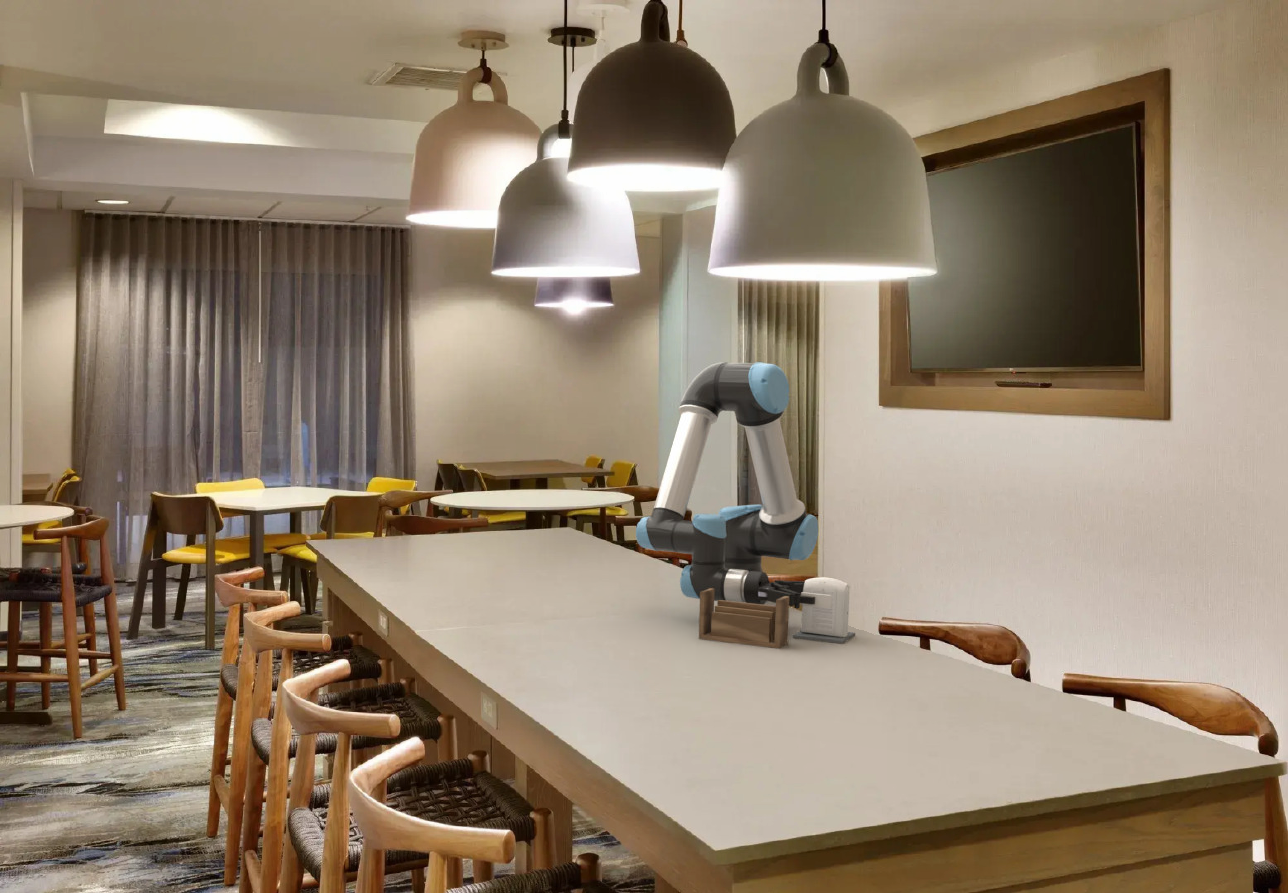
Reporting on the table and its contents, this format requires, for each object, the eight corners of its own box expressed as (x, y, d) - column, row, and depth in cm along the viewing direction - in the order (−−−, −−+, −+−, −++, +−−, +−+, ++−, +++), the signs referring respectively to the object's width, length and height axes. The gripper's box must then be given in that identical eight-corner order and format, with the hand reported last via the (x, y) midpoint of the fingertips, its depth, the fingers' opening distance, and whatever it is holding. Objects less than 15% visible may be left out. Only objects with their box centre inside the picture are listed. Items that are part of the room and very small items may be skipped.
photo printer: (850, 635, 260) (852, 578, 260) (844, 638, 256) (846, 581, 256) (804, 629, 265) (806, 574, 264) (798, 633, 261) (800, 576, 260)
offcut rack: (708, 633, 261) (710, 588, 260) (787, 643, 253) (789, 596, 252) (698, 638, 255) (700, 591, 255) (779, 648, 248) (780, 600, 247)
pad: (807, 629, 268) (807, 627, 268) (855, 635, 263) (855, 632, 263) (792, 637, 259) (792, 635, 259) (842, 643, 254) (842, 640, 254)
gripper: (766, 595, 280) (855, 605, 271) (726, 613, 257) (822, 623, 248) (767, 564, 279) (856, 572, 270) (727, 578, 257) (823, 587, 248)
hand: (840, 597), depth 259 cm, fingers open, 13 cm apart
